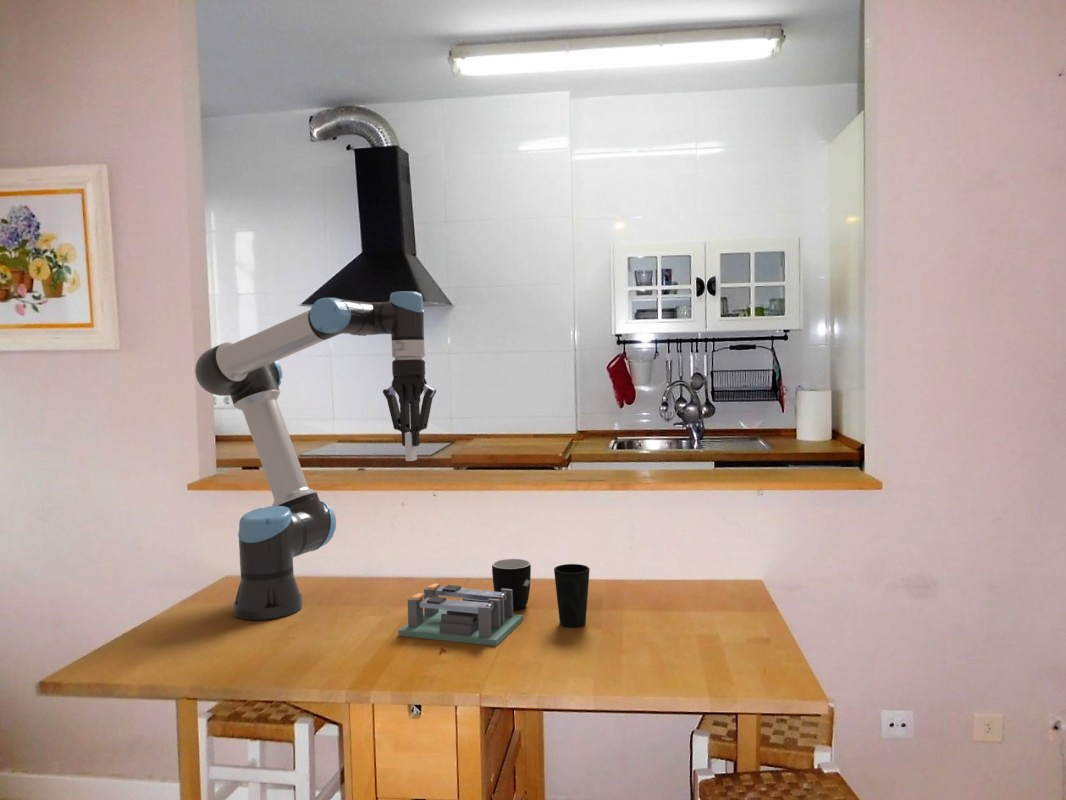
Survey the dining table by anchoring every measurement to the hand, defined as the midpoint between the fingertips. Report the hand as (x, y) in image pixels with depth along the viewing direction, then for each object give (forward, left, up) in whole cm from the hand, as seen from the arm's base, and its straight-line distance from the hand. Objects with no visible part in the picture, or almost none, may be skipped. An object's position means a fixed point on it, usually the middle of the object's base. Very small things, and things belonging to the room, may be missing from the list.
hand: (411, 460), depth 178 cm
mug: (+22, +7, -35) cm, 42 cm away
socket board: (+17, -11, -34) cm, 40 cm away
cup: (+39, -2, -35) cm, 52 cm away
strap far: (+18, -8, -29) cm, 35 cm away
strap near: (+18, -15, -29) cm, 37 cm away
